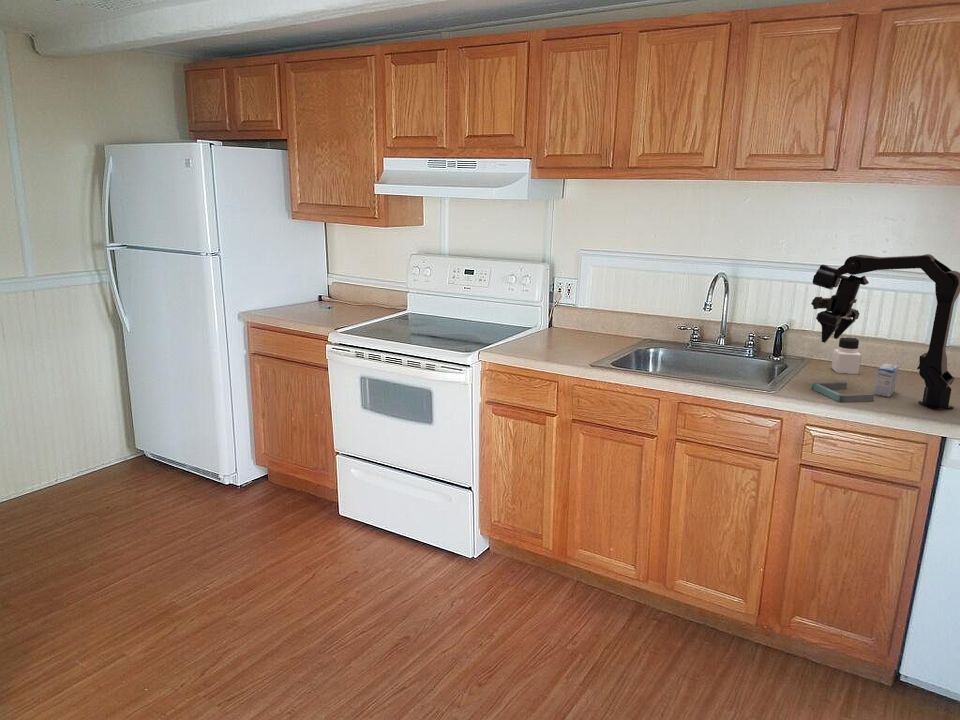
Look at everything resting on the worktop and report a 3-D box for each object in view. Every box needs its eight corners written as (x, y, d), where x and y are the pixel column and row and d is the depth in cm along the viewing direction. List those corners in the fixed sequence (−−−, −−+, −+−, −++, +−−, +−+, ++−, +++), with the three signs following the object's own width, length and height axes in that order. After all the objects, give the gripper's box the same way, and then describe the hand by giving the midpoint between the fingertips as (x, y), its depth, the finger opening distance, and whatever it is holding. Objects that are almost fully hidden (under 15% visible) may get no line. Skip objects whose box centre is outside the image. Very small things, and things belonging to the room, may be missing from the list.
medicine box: (879, 389, 228) (883, 363, 226) (895, 391, 225) (899, 365, 223) (874, 394, 222) (878, 368, 220) (890, 397, 219) (894, 370, 217)
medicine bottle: (859, 374, 245) (863, 340, 242) (836, 373, 246) (841, 339, 243) (852, 369, 252) (857, 336, 249) (831, 368, 253) (835, 335, 250)
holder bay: (873, 401, 215) (874, 394, 215) (839, 402, 214) (840, 396, 213) (844, 387, 229) (844, 381, 229) (811, 388, 228) (812, 382, 227)
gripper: (833, 284, 234) (817, 328, 240) (808, 288, 222) (792, 335, 228) (867, 294, 227) (850, 339, 233) (843, 300, 215) (826, 347, 221)
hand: (829, 340), depth 229 cm, fingers open, 9 cm apart
